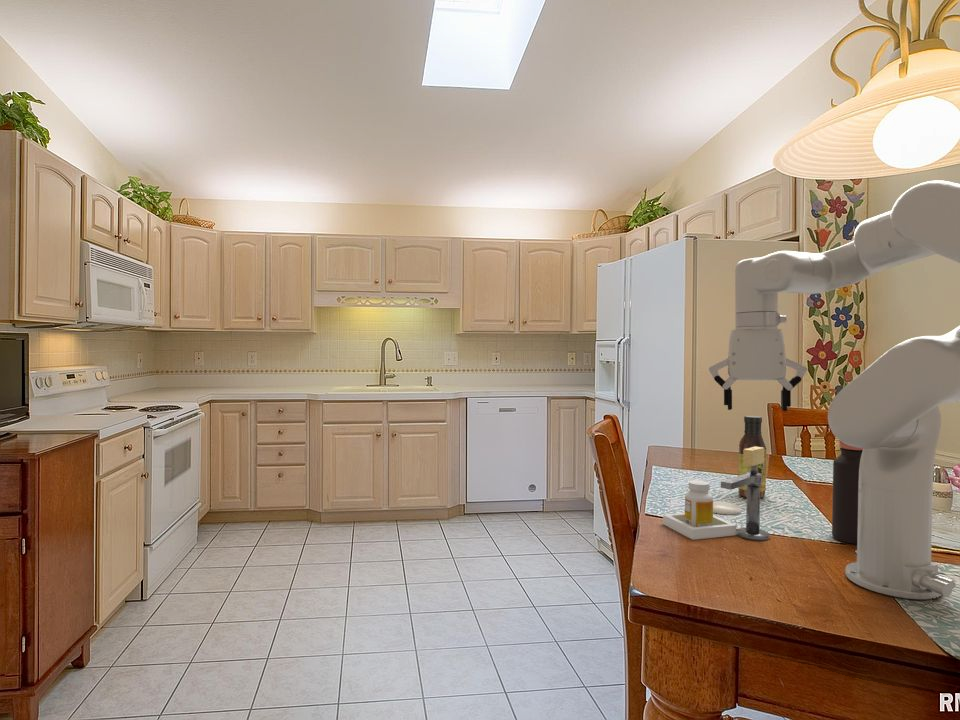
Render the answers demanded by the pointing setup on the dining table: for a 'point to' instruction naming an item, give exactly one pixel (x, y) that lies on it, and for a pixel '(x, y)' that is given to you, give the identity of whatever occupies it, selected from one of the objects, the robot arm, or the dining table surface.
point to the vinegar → (846, 494)
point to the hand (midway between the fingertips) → (756, 409)
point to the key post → (753, 517)
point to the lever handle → (752, 459)
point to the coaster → (725, 508)
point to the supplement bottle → (699, 504)
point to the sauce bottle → (748, 441)
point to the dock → (717, 530)
